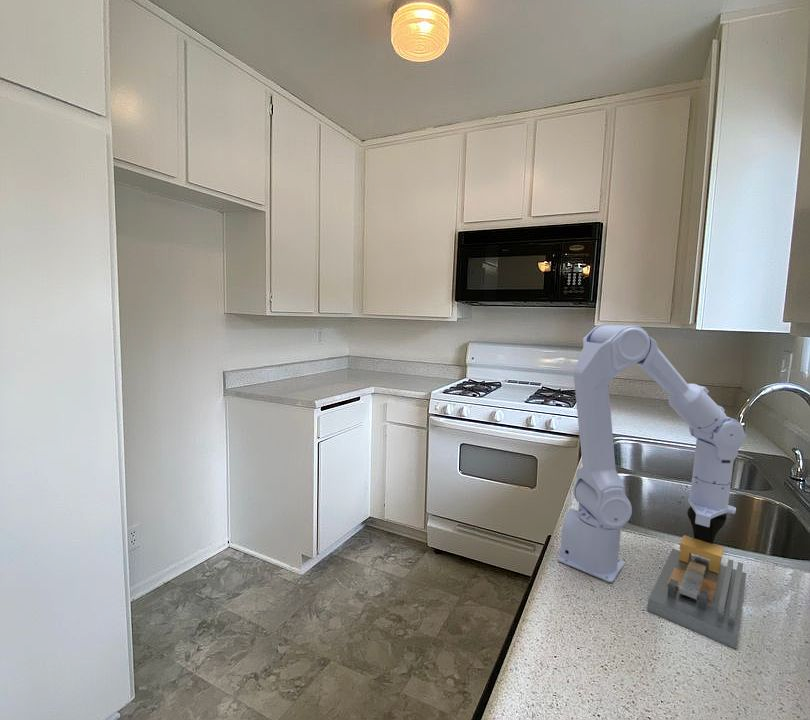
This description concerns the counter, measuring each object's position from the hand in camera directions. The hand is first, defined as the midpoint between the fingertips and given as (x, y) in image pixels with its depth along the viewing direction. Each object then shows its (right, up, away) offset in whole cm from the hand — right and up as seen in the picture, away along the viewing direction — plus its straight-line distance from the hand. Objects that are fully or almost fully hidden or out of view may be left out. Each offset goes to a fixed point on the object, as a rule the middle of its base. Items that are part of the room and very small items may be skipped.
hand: (702, 549), depth 79 cm
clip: (-2, -1, -2) cm, 3 cm away
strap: (-8, -1, -9) cm, 12 cm away
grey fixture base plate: (-7, -4, -9) cm, 12 cm away
